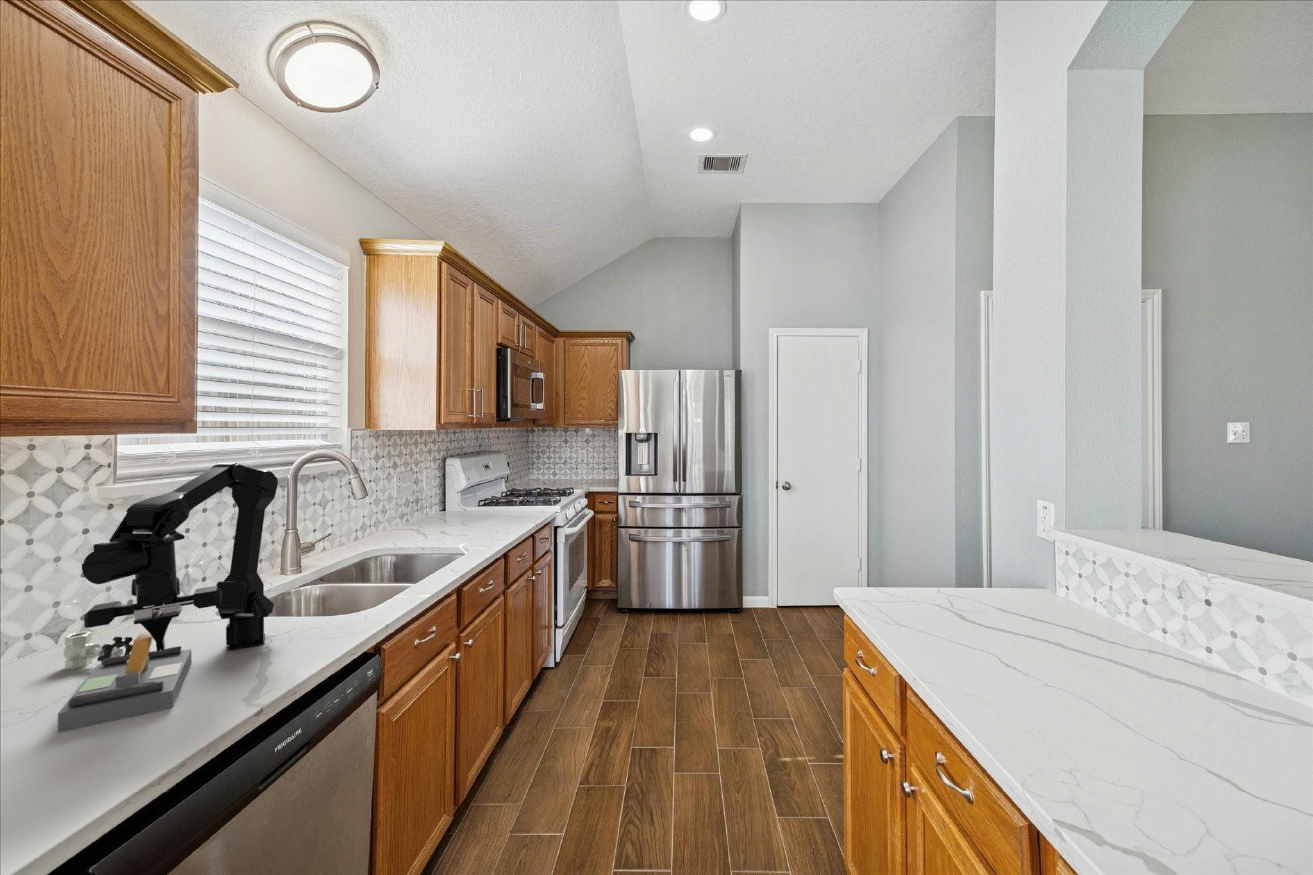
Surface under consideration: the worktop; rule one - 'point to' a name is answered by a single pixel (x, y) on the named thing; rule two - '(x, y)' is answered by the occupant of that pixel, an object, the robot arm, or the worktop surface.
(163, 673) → the panel
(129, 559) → the robot arm
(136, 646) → the lever
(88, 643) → the valve
